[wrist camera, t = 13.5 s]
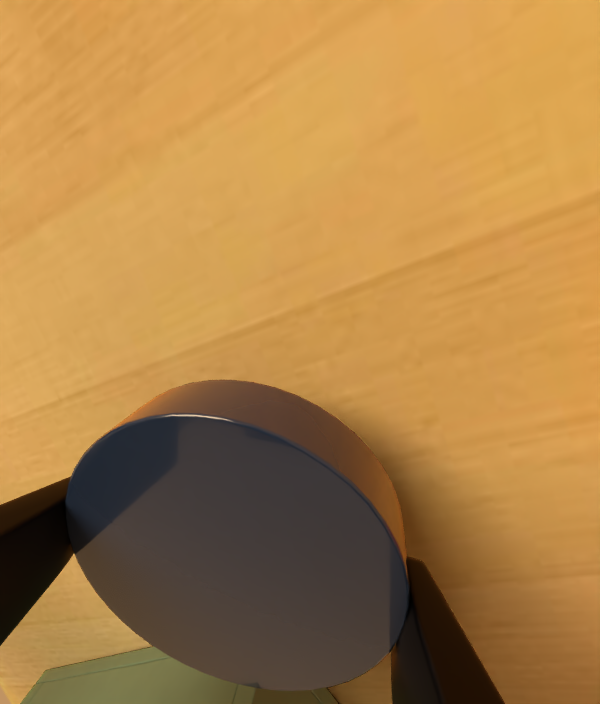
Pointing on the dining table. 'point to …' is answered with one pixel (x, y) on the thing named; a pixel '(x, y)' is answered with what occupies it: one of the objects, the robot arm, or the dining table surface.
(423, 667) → the robot arm
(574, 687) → the dining table surface
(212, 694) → the tub
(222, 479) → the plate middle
